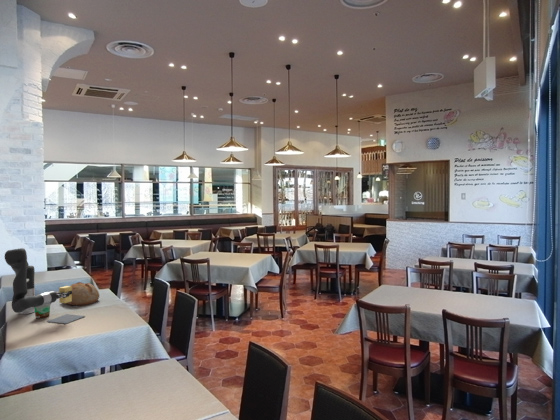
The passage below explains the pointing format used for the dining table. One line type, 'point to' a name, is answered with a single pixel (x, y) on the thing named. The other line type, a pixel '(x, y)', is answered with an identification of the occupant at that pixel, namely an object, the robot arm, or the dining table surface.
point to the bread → (83, 294)
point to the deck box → (65, 289)
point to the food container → (42, 311)
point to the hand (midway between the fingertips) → (68, 292)
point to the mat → (66, 319)
